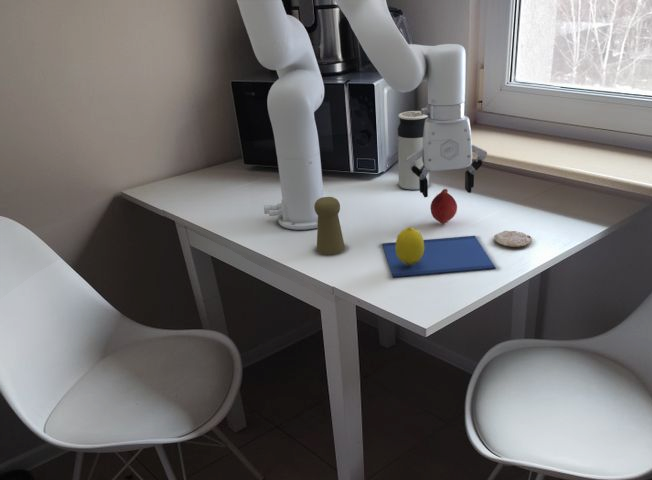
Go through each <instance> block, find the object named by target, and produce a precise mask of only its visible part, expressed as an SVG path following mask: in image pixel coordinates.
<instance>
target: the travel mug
mask: <svg viewBox="0 0 652 480" xmlns="http://www.w3.org/2000/svg"><path fill="white" fill-rule="evenodd" d="M397 115H398V118H399V125H398V126H397V159H398V163H397V164H398V186H399V187H400V188H401V189H405V190H411V191H416V190H420V187H419V177H418V176H417V175H416V174H415V173H413V172H412V170H411V168H410V166H409V165H408V163H407V161H406V158H407V157H409V156H410V155H412V154H413V153H415V152H417V151H418V150H420V149H421V148H422V144H423V131H424V124H425V120H426V119H427V118H428V116H427V115H421V110H409V111H403V112H401V113H398V114H397ZM415 165H416V166H417V167H418V168H419V169H420V168H421V167H422V166H423V161H422V157H421V158H419V159H418V160H416V161H415ZM426 178H427V180H428V186H429V185H430V172H429V173H428V174H427V176H426Z"/></svg>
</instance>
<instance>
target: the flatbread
mask: <svg viewBox="0 0 652 480" xmlns="http://www.w3.org/2000/svg"><path fill="white" fill-rule="evenodd" d="M493 237H494V239H493V240H494V241H495V242H496V243H498V244H500V245H502V246H506V247H511V248H517V247H519V248H520V247H525V246H528V245H530V244H531V243H532V242H533V238H532V236H531V235H529V234H526V233H524V232H521V231H517V230H503V231H501V232H499V233H496V234H494V236H493Z"/></svg>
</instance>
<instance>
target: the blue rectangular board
mask: <svg viewBox="0 0 652 480" xmlns="http://www.w3.org/2000/svg"><path fill="white" fill-rule="evenodd" d="M423 241H424V253H423V256H422V258H421V259H420V260H419V261H418V262H417V263H415V264H413V265H412V266H408V265H407V264H405V263H403V262H402V261H400V260H399V258H398V256H397V254H396V248H395V247H396V241H395V242H385V243H384V242H383V243H382V249H383V251H384V254H385V257H386V261H387V264H388V267H389V269H390V273H391V276H392V279H397V278H407V277H419V276H430V275H441V274H454V273H465V272H476V271H487V270H496V266H495V264H494V263H493V261H492V260H491V259H490V257H489V255H488V253H487V252H486V251H485V249H484V248H483V246H482V244H481V243H480V240H478V238H477V236H476V235H467V236H455V237H445V238H433V239H432V238H431V239H423Z"/></svg>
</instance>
